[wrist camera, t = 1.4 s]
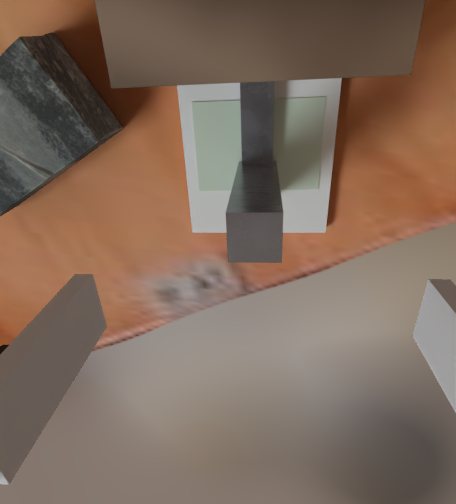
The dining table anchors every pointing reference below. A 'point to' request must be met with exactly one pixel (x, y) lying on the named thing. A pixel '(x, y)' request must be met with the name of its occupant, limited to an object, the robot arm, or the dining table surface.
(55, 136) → the stone block
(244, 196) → the grey l-shaped piece
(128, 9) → the small grey table
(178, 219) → the dining table surface
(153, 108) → the dining table surface
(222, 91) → the white flat panel
